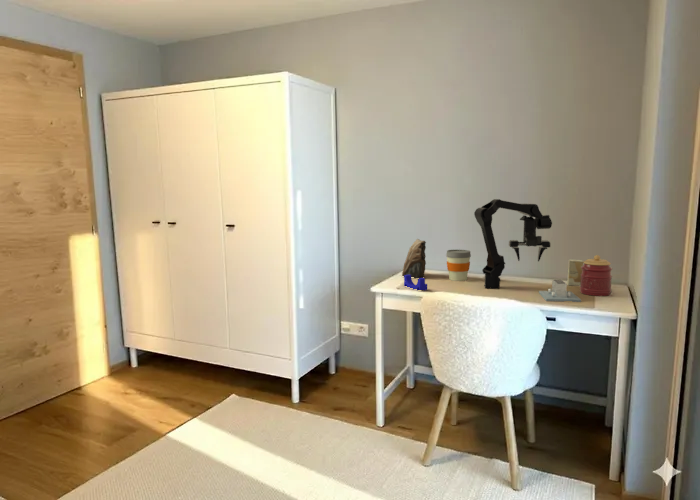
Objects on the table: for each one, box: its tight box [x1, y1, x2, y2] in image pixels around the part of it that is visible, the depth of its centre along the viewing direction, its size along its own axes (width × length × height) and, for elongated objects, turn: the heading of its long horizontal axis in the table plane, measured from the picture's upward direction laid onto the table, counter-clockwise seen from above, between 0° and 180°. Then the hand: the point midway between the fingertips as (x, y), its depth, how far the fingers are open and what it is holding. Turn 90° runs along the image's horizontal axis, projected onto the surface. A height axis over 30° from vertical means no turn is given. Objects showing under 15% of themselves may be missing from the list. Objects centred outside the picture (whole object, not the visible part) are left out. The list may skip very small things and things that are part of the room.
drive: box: [551, 279, 568, 297], centre depth 225 cm, size 4×9×6 cm, turn 171°
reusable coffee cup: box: [445, 249, 472, 282], centre depth 268 cm, size 13×13×15 cm
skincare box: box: [566, 259, 584, 287], centre depth 251 cm, size 6×4×12 cm
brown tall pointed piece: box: [401, 238, 427, 279], centre depth 276 cm, size 13×13×20 cm
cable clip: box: [403, 275, 428, 291], centre depth 247 cm, size 12×4×6 cm, turn 33°
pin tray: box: [538, 288, 582, 303], centre depth 226 cm, size 14×16×3 cm
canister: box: [579, 254, 613, 297], centre depth 232 cm, size 13×13×18 cm
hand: (528, 261), depth 251 cm, fingers open, 9 cm apart
